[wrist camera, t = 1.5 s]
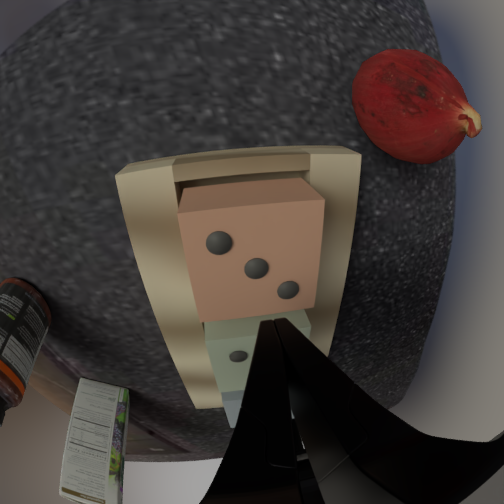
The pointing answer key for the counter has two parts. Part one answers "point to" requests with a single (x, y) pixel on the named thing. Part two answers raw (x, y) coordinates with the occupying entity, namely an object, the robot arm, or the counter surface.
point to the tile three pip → (252, 246)
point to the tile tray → (172, 252)
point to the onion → (412, 106)
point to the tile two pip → (240, 345)
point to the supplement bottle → (19, 338)
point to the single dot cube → (233, 405)
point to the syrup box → (96, 444)
